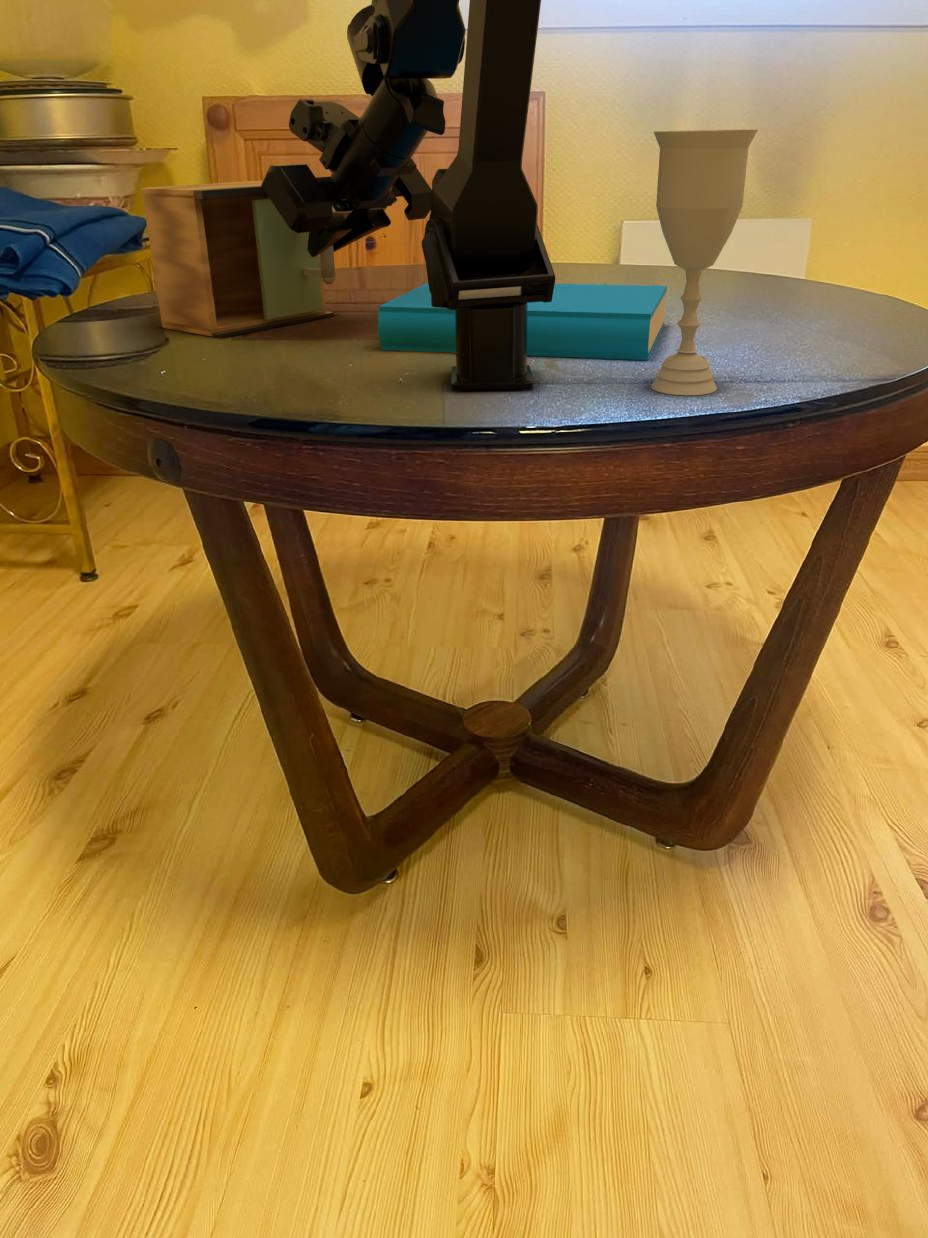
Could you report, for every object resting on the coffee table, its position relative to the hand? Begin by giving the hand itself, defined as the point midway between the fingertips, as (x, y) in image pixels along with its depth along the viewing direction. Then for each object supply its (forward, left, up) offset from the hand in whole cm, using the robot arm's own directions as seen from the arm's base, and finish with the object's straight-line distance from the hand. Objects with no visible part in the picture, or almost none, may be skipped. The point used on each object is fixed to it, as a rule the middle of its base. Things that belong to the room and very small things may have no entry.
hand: (317, 252), depth 102 cm
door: (-1, +1, -6) cm, 6 cm away
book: (-11, -21, -7) cm, 25 cm away
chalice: (-32, -32, -7) cm, 46 cm away
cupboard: (+1, +9, -7) cm, 11 cm away
